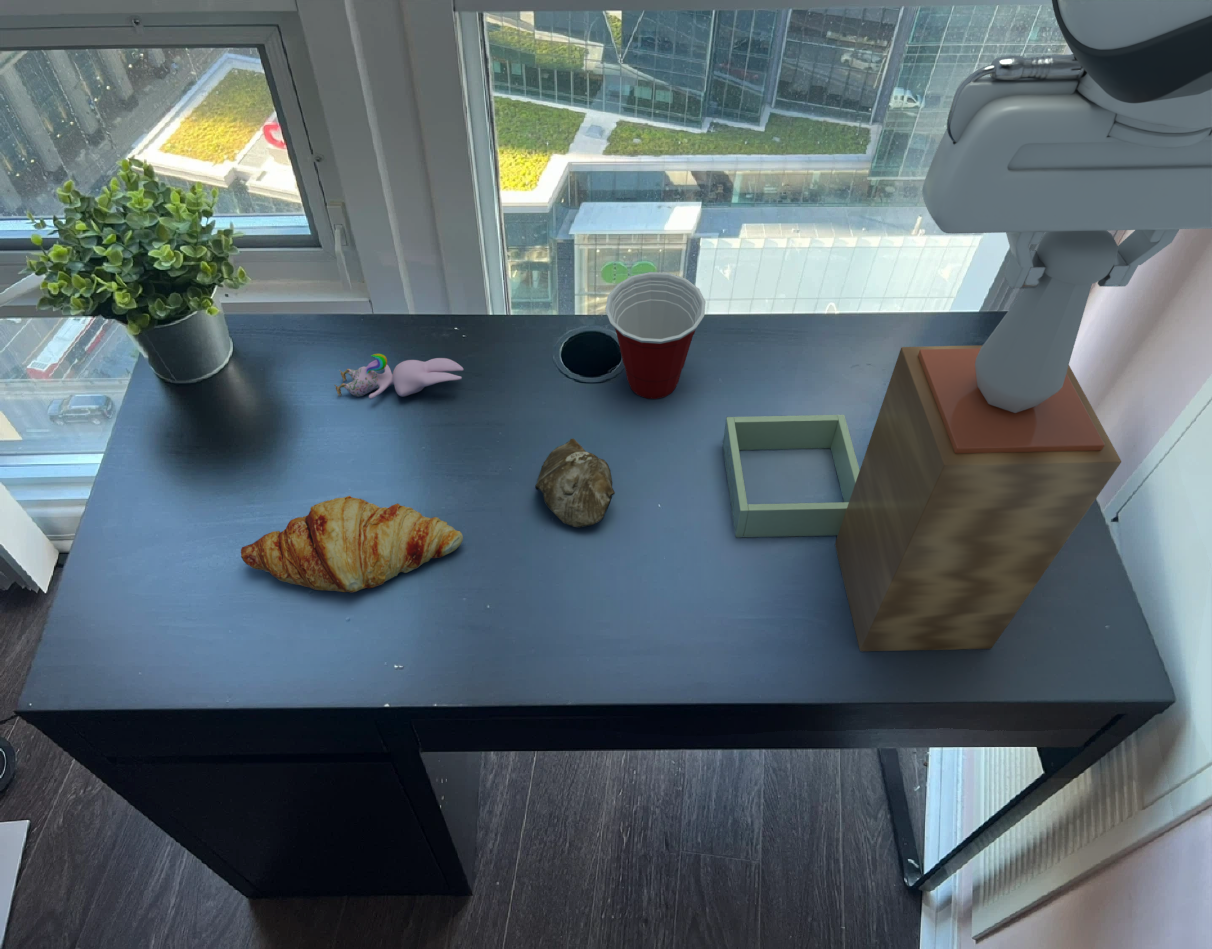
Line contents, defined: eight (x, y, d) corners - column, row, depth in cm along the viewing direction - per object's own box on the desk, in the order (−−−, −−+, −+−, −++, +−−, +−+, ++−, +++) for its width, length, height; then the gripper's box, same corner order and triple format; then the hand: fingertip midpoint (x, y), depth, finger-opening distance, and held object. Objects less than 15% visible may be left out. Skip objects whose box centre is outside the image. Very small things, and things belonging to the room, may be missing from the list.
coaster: (1049, 352, 64) (1052, 346, 63) (1101, 450, 57) (1105, 445, 57) (917, 354, 64) (919, 349, 63) (954, 453, 57) (957, 447, 57)
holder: (836, 442, 93) (844, 414, 89) (860, 535, 85) (870, 507, 81) (722, 445, 93) (726, 416, 89) (735, 537, 85) (740, 510, 81)
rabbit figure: (340, 415, 98) (463, 403, 96) (318, 378, 94) (446, 364, 92) (353, 378, 102) (470, 365, 100) (332, 341, 98) (455, 327, 96)
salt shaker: (1041, 433, 57) (1129, 274, 47) (956, 403, 59) (1024, 245, 49) (1058, 381, 60) (1144, 222, 50) (977, 354, 62) (1045, 197, 52)
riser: (954, 541, 84) (1057, 343, 64) (991, 649, 76) (1122, 461, 57) (834, 543, 84) (901, 346, 64) (859, 651, 76) (944, 465, 57)
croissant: (468, 543, 89) (459, 473, 86) (465, 590, 80) (455, 513, 77) (261, 566, 87) (245, 495, 84) (234, 616, 77) (214, 539, 74)
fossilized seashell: (632, 510, 84) (608, 450, 92) (595, 474, 80) (573, 414, 87) (572, 550, 86) (554, 488, 93) (533, 517, 81) (517, 454, 89)
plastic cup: (594, 404, 97) (591, 323, 88) (622, 345, 104) (622, 264, 95) (684, 425, 95) (691, 344, 86) (708, 363, 101) (716, 282, 92)
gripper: (986, 86, 40) (909, 317, 50) (1418, 78, 40) (1251, 310, 50) (949, 30, 44) (885, 255, 54) (1340, 23, 44) (1201, 248, 54)
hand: (1063, 281), depth 52 cm, fingers closed on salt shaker, 4 cm apart
